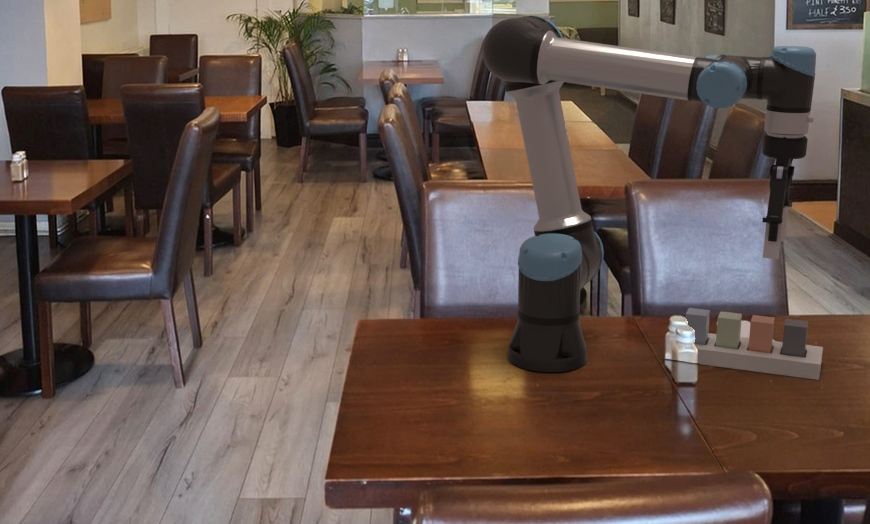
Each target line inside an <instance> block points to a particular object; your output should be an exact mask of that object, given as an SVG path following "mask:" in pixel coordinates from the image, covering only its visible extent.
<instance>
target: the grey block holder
mask: <svg viewBox="0 0 870 524" xmlns="http://www.w3.org/2000/svg"><path fill="white" fill-rule="evenodd" d="M716 335H717V333H710V332H708V340H707V343H706V345H700V344H695V345H696V347H697V349H698V363H699V364H698V365H703V366H710V367H718V368H726V369H733V370H739V371H749V372H757V373H764V374H772V375H778V376H787V377H794V378H801V379H810V380H817V381H820V376H821V375H820V374H821V368H822V360H823V354H824V353H823V351H824V347H823V346H817V345H811V344H810V345H809V344H806V350H805V356H804V357H797V356H789V355H782V344H783V341H779V340H778V341H776V340H775V341H773V343H772V350H771V353H765V352H757V351H748V347H749V338H745V337H740V344H739V347H738V349H732V348H724V347H716ZM664 349H665V350H664V352H665V351H666V344H665V345H664Z"/></svg>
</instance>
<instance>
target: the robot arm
mask: <svg viewBox="0 0 870 524" xmlns="http://www.w3.org/2000/svg"><path fill="white" fill-rule="evenodd" d="M481 49H482V51H481V53H482V59H483V61H484V64H485V66H486V68H487V70H488V71H489V72H490V73H491V74H492V75H493V76H494V77H495V78H497V79H500V80H501V81H503V84H504V89H505V93H506V95H508V96H509V97H511V98H513V99H514V101H515V104H516V105H515V106H516V109H517V110H516V111H517V114H518V115H517V116H518V119H519V124H520V128H521V134H522V139H523V145H524V148H525V153H526V154H525V155H526V158H527V163H528V169H529V174H530V179H531V184H532V189H533V194H534V200H535V205H536V209H537V213H538V220H537V221H536V223H535V225H533V232H534V235H533V236H531V237H529V238H527V239H525V240H524V241H523V242H522V243H521V245H520V247H519V254H518V257H517V259H518V260H517V266H518V282H517V283H518V284H517V286H518V287H517V288H518V289H517V294H518V295H517V296H518V298H517V320H516V321H517V322H516V323H515V327H514V329H513V332H512V336H511V338H510V340H509V343H508V347H507V359H508V361H509V362H510V363H511V364H512V365H514V366H516V367H518V368H521V369H524V370H527V371H534V372H539V373H540V372H541V373H561V372H569V371H575V370H577V369H580V368H581V367H583V366H585V364H587V361H588V347H587V344H586V340H585V338H584V334H583V330H582V327H581V324H580V306H581V305H580V304H581V303H580V301H581V290H582V289H583V288H584V287H585V286H586V285H587V284H588V283H589V282H590V281H592V280H593V279H594V278H595V277H596V275H597V274H598V272H599V271H600V270H601V269H600V268H601V266H602V264H603V261H604V255H605V253H604V245H603V242H602V239H601V238H600V236H599V234H598V233H597V232H595V231H594V227H593V221H592V217H591V216H592V215H590V214H588V213H587V212H585V211H584V210H583V209H582V203H581V199H580V195H579V189H578V185H577V184H578V183H577V178H576V174H575V167H574V162H573V158H572V151H571V147H570V142H569V138H568V137H569V136H568V131H567V125H566V122H565V121H566V120H565V117H564V111H563V106H562V100H561V95H560V89H561V87H563V84H564V83H568V84H573V85H574V84H575V85H583V86H588V87H594V88H595V87H596V88H602V89H608V90H609V89H610V90H615V91H622V92H629V93H636V94H642V95H648V96H654V97H662V98H669V99H677V100H683V101H689V102H694V103H699V104H705V105H706V106H708V107H710V108H714V109H726V108H727V109H728V108H729V107H732V106H734V105H735V104H737V103H738V102H740V101H741V99H742V100H743V99H744V100H759V101H761V100H764V101H766V103H767V104H766V109H765V117H764V128H763V131H764V132H765V133H766V134H765V135H763V140H762V141H763V142H762V154H763V156H765V157H768V158H774V159H775V162H774V164H771V166H770V168H769V169H770V170H769V177H770V179H769V188H768V189H769V195H768V196H769V198H768V205H767V213H766V216H765V217H762V221H761V222H762V223H765V233H764V241H763V243H764V244H763V250H762V258H763V259H771V260H772V259H773V260H780V251H781V250H780V249H781V242H782V243H785V240H786V233H787V223H788V214H789V208H793V200H790V199H791V197H790V193H791V185H792V184H793V176H794V173H795V166H794V165H793V160H800V159H803V158H805V157H806V156H807V150H808V137H807V136H805V135H807V134H808V133H809V128H810V123H813V122H814V117H812V116H810V115H811V110H812V105H813V104H812V103H813V95H814V88H815V87H814V86H815V79H816V78H815V77H816V66H817V65H816V64H817V63H816V61H817V52H816V51H815V49H814V48H812V47H809V46H800V45H799V46H797V45H777V46H774V47H773V49H772V51H771V54H770V56H761V57H760V56H745V55H744V56H743V55H729V54H728V55H727V54H713V55H706V56H704V57H698V56H692V55H683V54H676V53H670V52H663V51H657V50H655V51H654V50H650V49H649V50H648V49H643V48H641V49H640V48H634V47H627V46H619V45H612V44H608V43H607V44H606V43H605V44H604V43H599V42H591V41H584V40H577V39H572V38H571V39H569V38H565V37H564V36H563V34H562V32H561V31H560V29H559V28H558V27H557V25H556V24H554V23H553V22H552V21H550V20H548V18H547V19H546V18H544V17H541V16H536V15H527V16H526V15H525V16H520V17H512V18H507V19H506V18H505V19H503V20H501V21H499V22H497V23H496V24H494V25H493V26H492V27H491V28H490V29H489V30H488V31H487V33H486V34H485V36H484V39H483V42H482V47H481Z"/></svg>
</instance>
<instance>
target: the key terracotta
mask: <svg viewBox="0 0 870 524" xmlns="http://www.w3.org/2000/svg"><path fill="white" fill-rule="evenodd" d="M775 320H776V319H775V316H774V317H773V316H767V315H766V316H764V315H756V314H752V317H751V320H750V335H749V347H748V351H757V352H765V353H771V350H772V343H773V340H774V331H775V330H774V329H775Z"/></svg>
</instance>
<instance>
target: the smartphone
mask: <svg viewBox="0 0 870 524" xmlns="http://www.w3.org/2000/svg"><path fill="white" fill-rule="evenodd" d="M750 323H751V321H748V320H741V333H740V337H745V338H749V335H750ZM715 325H716V326H717V322H716V324H715ZM773 341H776V340H775V339H773Z"/></svg>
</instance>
